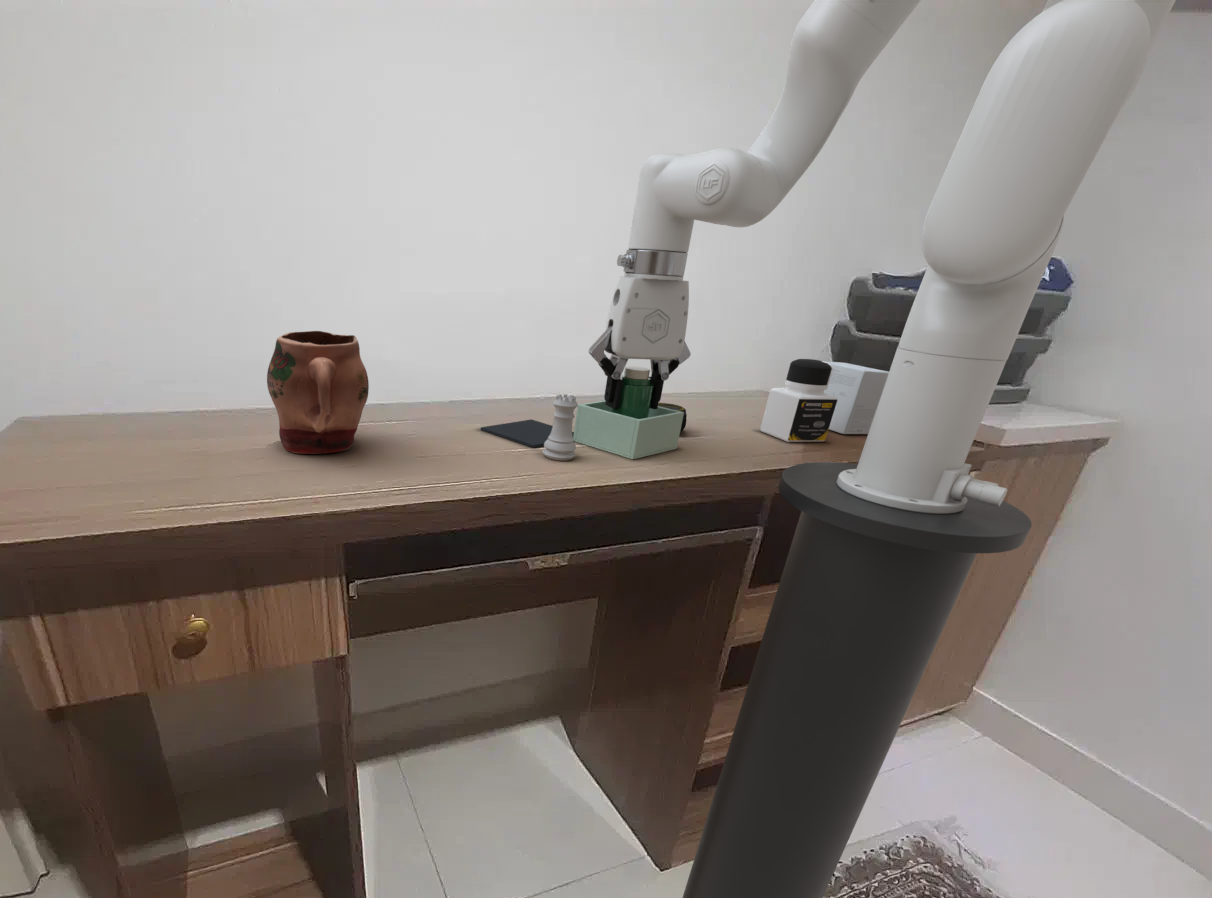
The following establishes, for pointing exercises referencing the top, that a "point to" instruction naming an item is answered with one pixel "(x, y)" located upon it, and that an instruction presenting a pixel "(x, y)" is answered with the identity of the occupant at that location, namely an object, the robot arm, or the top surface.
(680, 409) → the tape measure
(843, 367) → the cosmetics box
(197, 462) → the top surface
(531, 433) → the mat
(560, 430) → the rook chess piece
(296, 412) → the brown clay mug
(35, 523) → the top surface
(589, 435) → the case
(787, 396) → the medicine bottle
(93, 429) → the top surface
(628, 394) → the green bottle
